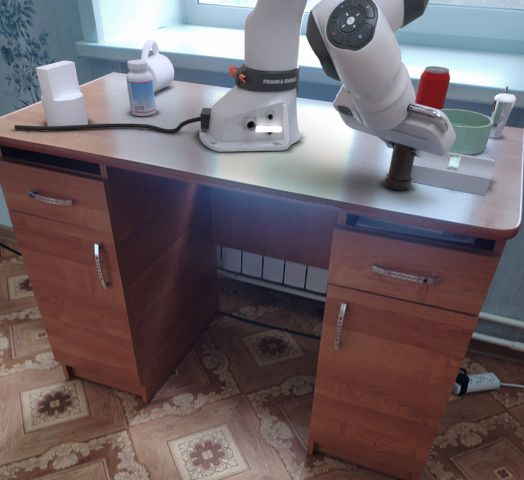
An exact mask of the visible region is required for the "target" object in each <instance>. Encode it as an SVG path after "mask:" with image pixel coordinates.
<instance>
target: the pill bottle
mask: <svg viewBox="0 0 524 480" xmlns="http://www.w3.org/2000/svg"><path fill="white" fill-rule="evenodd" d="M126 62H127V63H126V64H127V69H128V70H130V72H129V71H128V72H127V73H126V76H125V77H126V78H125V79H126V86H127V92H128V93H127V94H128V100H129V101H128V102H129V107H130V108H129V109H130V113H131V114H132V115H133V116H137V117H150V116H153V115H155V114H156V113H157V105H156V97H155V93H154V86H153V78H152V75H151V73H150V72H148V71H147V69H148V62H147V61H146V60H141V59H131V60H128V61H126Z"/></svg>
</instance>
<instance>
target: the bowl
mask: <svg viewBox="0 0 524 480" xmlns="http://www.w3.org/2000/svg"><path fill="white" fill-rule="evenodd" d="M439 110H440V111H442V112H443V113H444V114H445V115H446V116H447V117H448V119H449V121H450V123H451V125H452V127H453V129H454V131H455V134H456V140H455V142H454V144H453V145H452V147H451V149H450V150H449V151H451V153H457V154H463V155H465V154H466V153H467V154H466V155H469V156H471V155H472V156H474V154H475V155H477V154H479V153H482V152H484V151H485V150H486V148H487V145H488V142H489V139H490V137H489V136H490V133H491V129H492V126H493V120H492V119H491V118H490V117H491V116H488V115H486V114H483V113H481V112H477V111H472V110H468V109H460V108H459V109H458V108H443V109H439ZM455 149H456V151H457V152H456V151H455ZM449 151H448V152H449ZM461 151H462V152H463V153H462V152H461ZM467 151H468V152H467ZM460 152H461V153H460ZM473 152H474V153H473ZM468 153H469V154H468ZM471 153H472V154H471Z"/></svg>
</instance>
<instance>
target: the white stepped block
mask: <svg viewBox="0 0 524 480" xmlns="http://www.w3.org/2000/svg"><path fill="white" fill-rule="evenodd" d="M35 71H36V75H37V79H38V84H39V88H40V93H41V95H40V100H41V104H42V110H43V113H44V117H45V123H46V126H71V125H89V119H88V112H87V109H86V102H85V98H84V94H83V93H82V92H81V89H80V84H79V79H78V74H77V69H76V63H75V61H71V60H61V61H57V62H53V63H49V64H45V65H41V66H38V67H35Z"/></svg>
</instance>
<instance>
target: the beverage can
mask: <svg viewBox="0 0 524 480" xmlns="http://www.w3.org/2000/svg"><path fill="white" fill-rule="evenodd" d="M419 77H420V78H419V81H418V85H417V91H416V94H415V95H416V100H415V103H416V104H419V105H423V106H427V107H431V108H435V109H438V110H439V109H444V106H445V103H446V98H447V94H448V90H449V86H450V81H451V76H450V69H449V68H447V67H444V66H438V65H437V66H435V65H434V66H433V65H431V66H430V65H429V66H426V67H425V68H424V70H423V72H422V73H421V74H420V76H419Z"/></svg>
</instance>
